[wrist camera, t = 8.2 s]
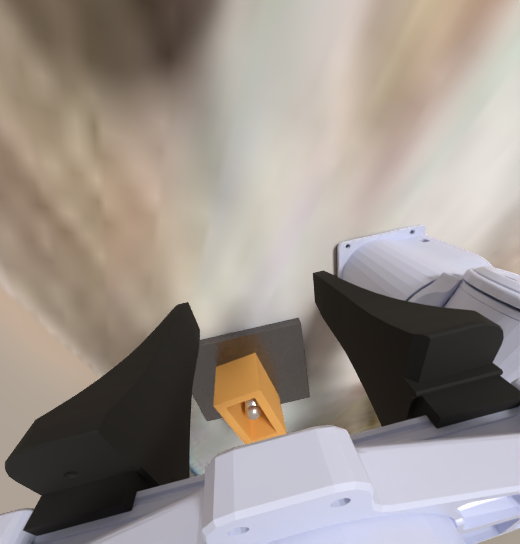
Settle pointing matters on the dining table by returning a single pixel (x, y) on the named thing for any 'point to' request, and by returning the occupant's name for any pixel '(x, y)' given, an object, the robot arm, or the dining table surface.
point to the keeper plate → (272, 354)
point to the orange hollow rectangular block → (244, 386)
